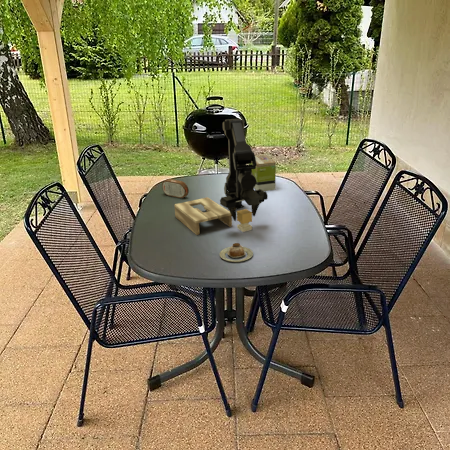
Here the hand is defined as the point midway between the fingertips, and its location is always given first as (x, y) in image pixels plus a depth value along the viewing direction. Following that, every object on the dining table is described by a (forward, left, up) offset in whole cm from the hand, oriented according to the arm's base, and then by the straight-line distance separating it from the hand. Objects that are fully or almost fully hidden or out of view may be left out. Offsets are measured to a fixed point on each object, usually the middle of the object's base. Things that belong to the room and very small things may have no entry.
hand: (244, 218), depth 174 cm
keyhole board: (+11, -16, -4) cm, 20 cm away
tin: (+9, -52, -5) cm, 53 cm away
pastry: (+14, +18, -5) cm, 24 cm away
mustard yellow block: (0, 0, -5) cm, 5 cm away
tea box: (-35, -41, -5) cm, 54 cm away
